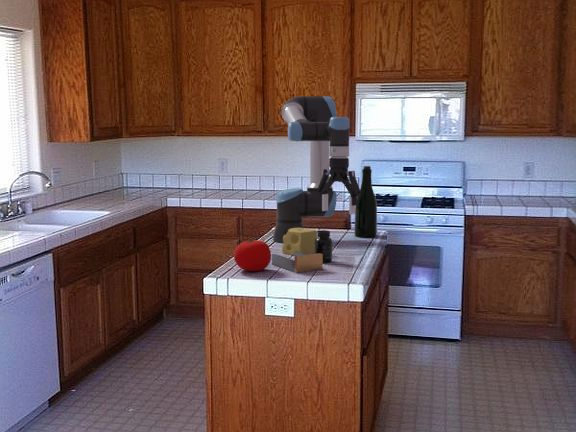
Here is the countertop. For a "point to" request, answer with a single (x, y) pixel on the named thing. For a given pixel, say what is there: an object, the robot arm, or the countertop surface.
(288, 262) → the guide channel
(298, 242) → the cheese
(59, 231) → the countertop surface
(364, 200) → the dark green wine bottle
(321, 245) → the supplement bottle
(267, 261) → the tomato
